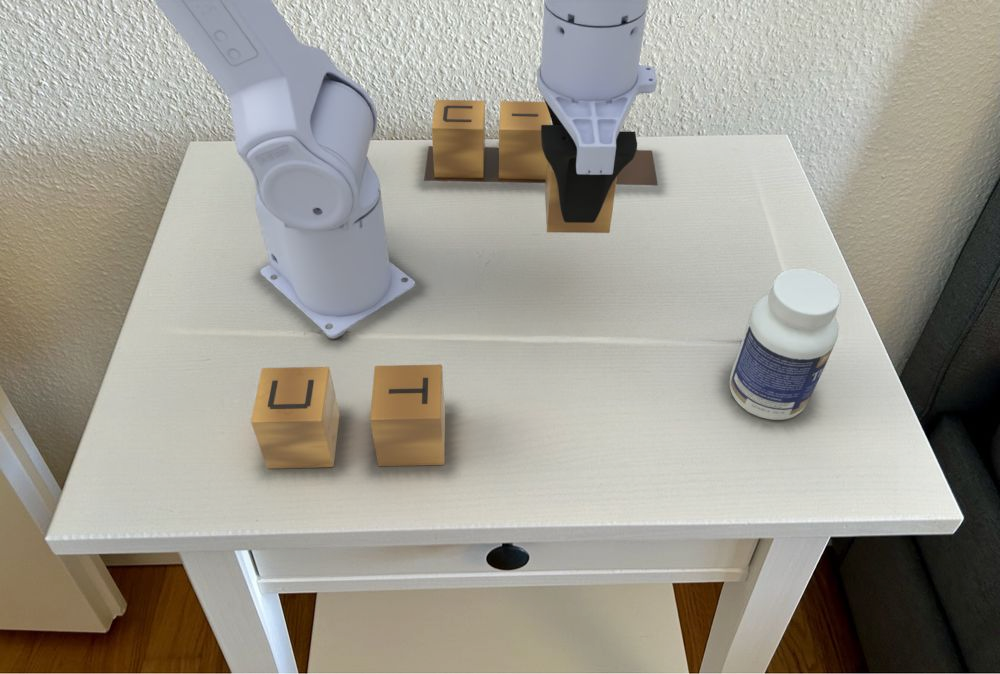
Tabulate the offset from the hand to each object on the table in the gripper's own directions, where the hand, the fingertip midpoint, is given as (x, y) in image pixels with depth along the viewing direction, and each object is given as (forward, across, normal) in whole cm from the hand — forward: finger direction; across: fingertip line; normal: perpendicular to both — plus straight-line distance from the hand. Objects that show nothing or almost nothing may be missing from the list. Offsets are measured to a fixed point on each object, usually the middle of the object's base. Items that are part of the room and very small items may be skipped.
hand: (577, 196), depth 57 cm
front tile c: (+9, -14, +18) cm, 24 cm away
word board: (+9, +15, +2) cm, 18 cm away
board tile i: (+9, +15, +3) cm, 18 cm away
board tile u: (+9, +16, +9) cm, 20 cm away
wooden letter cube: (+1, 0, 0) cm, 1 cm away
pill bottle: (+10, -9, -13) cm, 19 cm away
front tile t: (+9, -13, +11) cm, 20 cm away
